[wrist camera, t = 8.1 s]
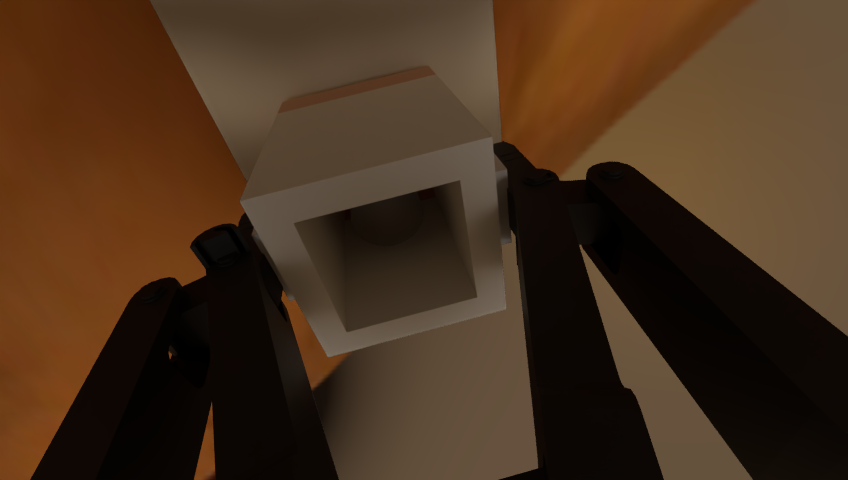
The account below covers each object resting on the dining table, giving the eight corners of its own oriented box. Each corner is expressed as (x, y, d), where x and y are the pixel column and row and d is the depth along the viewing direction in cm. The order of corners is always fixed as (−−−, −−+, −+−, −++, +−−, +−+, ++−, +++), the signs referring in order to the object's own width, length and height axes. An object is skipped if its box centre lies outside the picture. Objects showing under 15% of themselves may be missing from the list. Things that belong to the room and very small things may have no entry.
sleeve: (282, 101, 15) (239, 201, 9) (428, 65, 15) (492, 136, 9) (332, 223, 19) (328, 357, 12) (450, 193, 19) (506, 308, 12)
